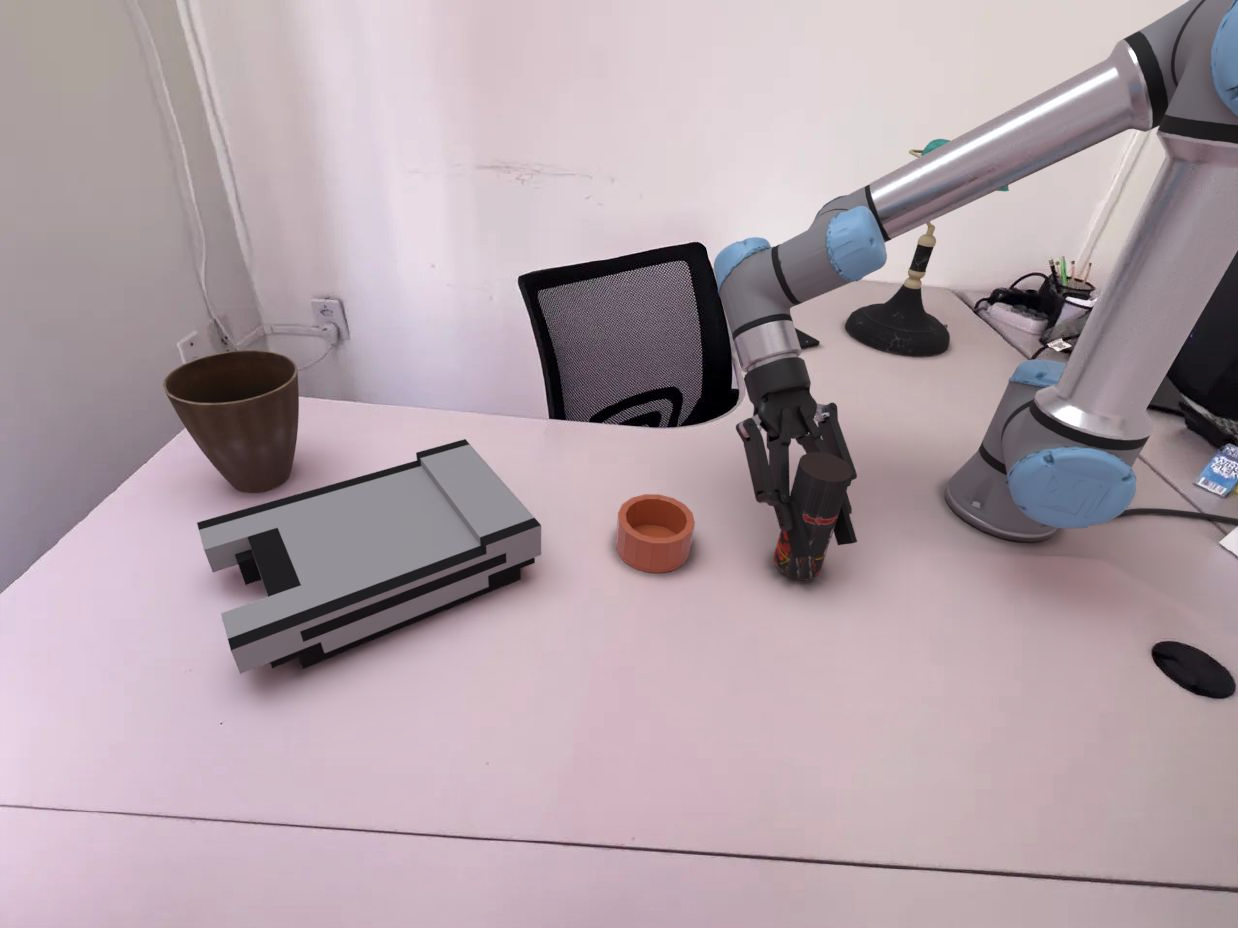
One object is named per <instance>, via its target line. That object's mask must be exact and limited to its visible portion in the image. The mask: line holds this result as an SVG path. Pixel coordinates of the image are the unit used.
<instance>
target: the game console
mask: <svg viewBox="0 0 1238 928" xmlns="http://www.w3.org/2000/svg"><path fill="white" fill-rule="evenodd" d="M415 455H416V460H413V461H410V462H406V463H403V464H398V465H396V466H393V467H389V468H385V469H382V470H378V471H375V472H371V473H367V474H364V475H361V476H356V477H353V478H350V479H346V480H342V481H339V482H336V483H332V484H328V485H325V486H321V487H318V488H314V489H310V490H308V491H304V492H301V493H297V494H293V495H289V496H286V497H283V498H279V499H276V500H271V501H268V502H265V503H260V504H258V505H254V506H251V507H247V508H243V509H240V510H236V511H233V512H230V513H225V514H222V515H218V516H214V517H211V518H208V519H204V520H201V521H197V522H196V525H197V530H198V533H199V536H200V537H199V538H200V540H201V544H202V548H203V551H204V553H205V556H206V559H207V561H208V564H209V566H210V568H211V572H212V573H217V572H219V571H223V570H225V569H229V568H232V567H235V566H238V568H239V571H240V574H241V577H242V579H243V583H244V585H245V586H248V585H251V584H254V583H257V582H260V581H262V584H263V587H264V590H265V593H266V596H267V597H264V598H261V599H258V600H255V601H251V602H249V603H246V604H243V605H240V606H237V607H235V608H232V609H229V610H227V611H223V612H220V615H221V619H222V623H223V626H224V631H225V635H226V637H227V642H228V644H229V649H230V652H231V654H232V657H233V659H234V662H235V664H236V667H237V669H238V672H239V674H240V675H241V674H244V673H246V672H249V671H251V670H254V669H256V668H259V667H261V666H264V665H266V664H269V665H270V667H271V669H274V668H277V667H279V666H282V665H284V664H287V663H289V662H292V661H294V660H296V659H298V661H299V663H300V666H301V669H302V670H304V669H307V668H309V667H311V666H314V665H316V664H319V663H321V662H324V661H326V660H328V659H331V658H334V657H336V656H338V655H340V654H343V653H345V652H348V651H350V650H353V649H355V648H357V647H360V646H362V645H365V644H367V643H370V642H372V641H375V640H377V639H379V638H383V637H384V636H387V635H389V634H392V633H394V632H397V631H399V630H401V629H404V628H407V627H409V626H411V625H415V624H416V623H418V622H421V621H424V620H426V619H428V618H430V617H433V616H435V615H438V614H440V613H443V612H446V611H447V610H450V609H453V608H455V607H457V606H458V607H459V606H460V605H463V604H465V603H467V602H469V601H472V600H475V599H477V598H479V597H481V596H482V597H483V596H485V595H487V594H489V593H491V592H494V591H497V590H499V589H501V588H504V587H506V586H508V585H509V586H510V585H512V584H513V583H516V582H518V581H521V580H522V573H521V572H522V571H521V570H522V569H524V568H526V567H529V566H530V565H533V564H535V562H536V561H535V560H536V559H535V558H536V557H539V556H542V524H541V523H540V522H539V521H538V520H537V518H536V517H535V516H534V514H532V513H531V512H530V510H529V509H528V508H527V507H526V506H525V505H524V504H523V502H522V501H521V500H520V499H519V498H518V497H517V496H516V495H515V493H513V491H512V490H511V489H510V488H509V487H508V486H507V484H505V482H504V481H503V480H502V479H501V478H500V476H498V474H497V473H496V472H495V471H494V469H492V467H491V466H490V465H489V464H488V463H487V462H486V460H485V459H484V458H483V457H482V456H481V455H480V454H479V452H477V451H476V449H475V448H474V447H473V446H472V445H471V444H470V442H469V441H468V440H467V439H466V438H464V439H460V440H457V441H453V442H449V443H446V444H443V445H442V444H441V445H438V446H435V447H432V448H428V449H424V450H421V451H417V452H415Z"/></svg>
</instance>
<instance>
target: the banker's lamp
mask: <svg viewBox="0 0 1238 928" xmlns="http://www.w3.org/2000/svg"><path fill="white" fill-rule="evenodd" d="M950 141H951V140H950V139H945V138H936V139H933V140H930V141H929V142H928V144H927V145H926V146H925V147H924V149H910V150H908V154H909V155H912V156H913V157H915V158H919V157H921V156H923V155H925V154H927V153H929V152H931V151H932V150H934V149H936V148H938V147H940V146H942V145H944V144H946V143H948V142H950ZM1009 191H1010V188H1009V185H1007V186H1005V187H1003V188H1001V189H999V190H996V191H995V192H1009ZM925 224H926V226H927V229H926V232H925V234H922V235H920V236H919V237H918V239H917V243H916V244H917V245H916V248H915V251H914V253H913V257H912V260H911V263H910V266H909V267H908V270H907V275H908V277H907V278H906V279H905V280H904V282H903V284H902V285H901V286H900V288H898V289H897V291H896V292H895V293H894V295H893V296H891V297H890V299H888V300H887V301H885V302H884V303H883V302H881V303H871V304H868V305H865V306H861V307H859V308H857V309H856V310H854V311H852V312H851V313H850V315H849V316H848V318H847V319H846V322H845V323H844V325H845V326H844V328H845V331H846V332H847V333H848V334H849V336H850V337H851V338H853V339H854V340H856V341H858V342H859V343H861V344H863V345H864V346H868V347H870V348H871V349H876V350H877V351H878V350H879V351H881V352H885V353H888V354H893V355H898V356H904V357H913V358H914V357H915V358H918V357H919V358H925V357H934V356H939V355H941V354H943V353H945V352H946V351H947V350H948V348H949V346H950V341H951V340H950V339H951V335H950V332H949V331H948V327H949V326H948V324H944V323H942V322H941V321H940V320H939V319H938V318H937V317H935V316H934V315H932V314H930V313H928V312H926V310H925V306H924V303H923V296H922V283H923V281H922V280H921V279H923V278H924V277H925V276H926V273H927V267H928V265H929V262H930V259H931V256H932V253H933V252H934V251H933V250H934V247H935V246H936V244H937V239H936V236H934V232H935V230H936V226H935V225H934V224H932V223H931V221H930V222H927V223H925Z"/></svg>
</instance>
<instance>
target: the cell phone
mask: <svg viewBox="0 0 1238 928" xmlns="http://www.w3.org/2000/svg"><path fill="white" fill-rule="evenodd" d="M795 330H796V334H797V337H798V340H799V343H800V347H801V350H805V349H809V348H814V347H818V346H819V345H820V340H819V339H817V338H815V337H813V336H811V335H809V334H807V333H806V332H803V331H802V330H800V329H798V328H797V327H795Z"/></svg>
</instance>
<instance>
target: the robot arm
mask: <svg viewBox="0 0 1238 928" xmlns="http://www.w3.org/2000/svg"><path fill="white" fill-rule="evenodd" d="M1156 128H1157V130H1156V133H1155V134H1156V137H1157V138H1158V140H1159V142H1160V145H1161V146H1162V149H1163V150H1164V156H1165V157H1164V158H1163V160H1162V163H1161V165H1160V167H1159V170H1158V172H1157V174H1156V175H1155V178H1154V179H1153V182H1152V184H1151V185H1150V188H1149V190H1148V193H1147V194H1146V196H1145V199H1144V201H1143V203H1142V205H1141V207H1140V209H1139V211H1138V213H1137V215H1136V218H1135V219H1134V221H1133V224H1132V226H1131V228H1130V230H1129V232H1128V233H1127V236H1126V238H1125V240H1124V243H1123V245H1122V247H1121V249H1120V250H1119V253H1118V255H1117V257H1116V259H1115V261H1114V263H1113V265H1112V268H1111V270H1110V272H1109V274H1108V276H1107V278H1106V280H1105V282H1104V284H1103V286H1102V288H1101V290H1100V293H1099V295H1098V297H1097V299H1096V301H1095V303H1094V305H1093V307H1092V309H1091V311H1090V313H1089V316H1088V318H1087V319H1086V322H1085V324H1084V326H1083V327H1082V328H1083V329H1082V330H1081V333H1080V335H1079V336H1078V339H1077V340H1076V343H1075V345H1074V347H1073V349H1072V351H1071V353H1070V355H1069V357H1068V359H1067V361H1066V362H1062V361H1056V360H1052V359H1042V358H1041V359H1039V358H1038V359H1036V358H1035V359H1027V360H1024V361H1022V362H1021V363H1019V364H1018V365H1017V366H1016V368H1015V369H1014V372H1013V373H1012V375H1011V377H1009V378H1008V380H1007V383H1008V384H1007V385H1006V387H1005V390H1004V392H1003V395H1002V396H1001V399H1000V401H999V403H998V405H997V406H996V407H997V408H996V409H995V412H994V414H993V417H992V419H991V421H990V423H989V425H988V426H987V429H986V431H985V434H984V436H983V439H982V441H981V443H980V445H979V447H978V449H977V451H976V452H975V453H974V454H973V455H972V456H971V457H970V458H969V459H968V460H967V461H966V462H965V463H964V464H963V465H962V466H961V467H960V468H958V470H957V471H956V472H955V473H954V474H953V475H952V476H951V478H950V479H949V481H948V483H947V485H946V487H945V491H944V498H945V500H946V502H947V504H948V506H949V507H950V509H951V510H952V511H953V512H954V513H955V514H956V515H957V516H958V517H959V518H961V519H962V520H963V521H965V522H966V523H968V524H969V525H971V526H972V527H974V528H976V529H979V530H980V531H982V532H984V533H986V534H989V535H992V536H995V537H997V538H1000V539H1004V540H1008V541H1013V542H1019V543H1037V542H1043V541H1046V540H1049V539H1051V537H1053V536H1054V535H1055V533H1056V531H1057V529H1067V530H1077V529H1078V530H1079V529H1086V528H1088V527H1090V526H1093V525H1094V526H1095V525H1098V526H1099V525H1103V524H1105V523H1107V522H1110V521H1112V520H1114V519H1116V518H1117V517H1121V516H1126V515H1132V514H1161V515H1162V514H1163V515H1175V516H1185V517H1194V518H1202V519H1208V520H1215V521H1219V522H1226V523H1231V524H1236V525H1237V524H1238V518H1234V517H1230V516H1223V515H1219V514H1211V513H1205V512H1197V511H1189V510H1181V509H1180V510H1179V509H1171V508H1170V509H1169V508H1149V507H1146V508H1145V507H1144V508H1142V507H1141V508H1140V507H1139V508H1138V507H1137V508H1129V507H1130V506H1131V504H1132V502H1133V500H1134V498H1135V496H1136V493H1137V492H1136V491H1137V482H1138V481H1137V480H1138V479H1137V475H1136V473H1135V471H1134V469H1133V466H1134V464H1135V462H1136V460H1137V459H1138V457H1139V455H1140V454H1141V452H1142V451H1143V449H1144V447H1145V446H1146V444H1147V442H1148V440H1149V438H1150V437H1151V436H1152V433H1153V432H1154V429H1155V425H1154V422H1153V420H1152V419H1151V417H1150V415H1149V413H1148V411H1147V408H1148V406H1149V405H1150V403H1151V401H1152V399H1153V398H1154V396H1155V394H1156V393H1157V391H1158V389H1159V388H1160V385H1161V384H1162V383H1163V380H1164V379H1165V377H1166V376H1167V374H1168V371H1169V370H1170V368H1171V367H1172V365H1173V363H1174V361H1175V360H1176V359H1177V356H1178V354H1179V353H1180V351H1181V349H1182V348H1183V346H1184V344H1185V342H1186V341H1187V339H1188V338H1189V336H1190V333H1191V332H1192V331H1193V329H1194V327H1195V325H1196V323H1197V321H1198V320H1199V318H1200V317H1201V315H1202V313H1203V311H1204V309H1205V308H1206V306H1207V304H1208V303H1209V301H1210V299H1211V297H1212V296H1213V294H1214V292H1215V291H1216V289H1217V287H1218V285H1219V284H1220V282H1221V280H1222V278H1223V277H1224V275H1225V273H1226V271H1228V268H1229V267H1230V264H1231V263H1232V261H1233V259H1234V257H1235V256H1236V254H1237V252H1238V0H1188V1H1186V2H1184V3H1183V4H1181V5H1180V6H1178V7H1176V8H1175V9H1173V10H1171V11H1169V12H1168V13H1166V14H1165V15H1163V16H1161V17H1160V18H1158V19H1156V20H1155V21H1153V22H1151V23H1150V24H1148V25H1146V26H1145V27H1143V28H1141V29H1139V30H1138V31H1136V32H1133V33H1132V34H1130V35H1128V36H1126V37H1124V38H1122V39H1120V40H1119V41H1117V42H1116V44H1115V45H1114V47H1113V49H1112V50H1111V52H1110V54H1109V56H1107V58H1106V59H1105V60H1102V61H1101V62H1099V63H1096V64H1095V65H1093V66H1091V67H1089V68H1087V69H1085V70H1083V71H1082V72H1080V73H1078V74H1076V75H1073V76H1072V77H1070V78H1068V79H1066V80H1064V81H1062V82H1061V83H1058V84H1057V85H1055V86H1053V87H1051V88H1049V89H1047V90H1045V91H1043V92H1041V93H1039V94H1038V95H1036V96H1034V97H1032V98H1029V99H1028V100H1026V101H1024V102H1022V103H1021V104H1020V103H1019V105H1017V106H1015V107H1013V108H1011V109H1009V110H1006V111H1005V112H1003V113H1001V114H999V115H997V116H996V117H994V118H992V119H990V120H988V121H986V122H983V123H982V124H980V125H978V126H976V127H975V128H973V129H971V130H968V131H967V132H965V133H963V134H961V135H959V136H957V137H955V138H953V139H951V140H950V142H948V143H946V144H944V145H942V146H940V147H938V148H936V149H934V150H932V151H931V152H929V153H927V154H925V155H923V156H921V157H919V158H918V157H916V158H915V159H914V160H912V161H910V162H907V163H905V164H903V165H902V166H900V167H898V168H896V169H894V170H892V171H891V172H888V173H887V174H885V175H883V176H881V177H879V178H877V179H875V180H873V181H871V182H870V183H869V184H867V185H864V186H863V187H860V188H858V189H856V190H855V191H853V192H851V193H849V194H843V195H839V196H836V197H834V198H832V199H831V200H829V201H828V202H826V203H825V204H823V205H822V207H821V208H820V209H819V210H818V211H817V213H816V215H815V216H814V219H813V221H812V223H811V225H810V226H809V227H808V228H807V230H805V231H803V232H801V233H799V234H797V235H795V236H793V237H792V238H790V239H788V240H786V241H784V242H782V243H779V244H777V245H774V246H771V243H770V242H769V241H768V239H766V238H764V237H759V236H753V237H746V238H745V239H743V240H740V241H735V242H732V243H731V244H729V245H727V246H726V247H724V248H723V249H722V250H720V252H718V253H717V255H716V257H715V259H714V261H713V270H714V275H715V280H716V285H717V293H718V297H719V298H720V301H721V304H722V307H723V311H724V313H725V318H726V320H727V323H728V327H729V330H730V334H731V338H732V341H733V345H734V349H735V352H736V356H737V359H738V362H739V363H738V364H739V366H740V369H741V371H742V372H744V373H745V375H744V377H743V381H744V385H745V389H746V392H747V396H748V399H749V402H750V403H751V404H752V405H753V413H752V416H751V417H748V418H746V419H744V420H742V421H740V422H738V423H737V424H735V430H736V433H737V434H738V436H739V438H740V439H741V442H742V444H743V448H744V452H745V456H746V461H747V466H748V470H749V475H750V480H751V484H752V488H753V493H754V497H755V501H756V502H757V503H759V504H767V506H769V507H773V509H774V513H775V516H776V520H777V523H778V528H779V529H780V531H782V532H783V531H786V533H787V537H788V540H789V544H790V548H791V551H792V555H793V558H801V557H808V556H812V552H811V548H810V545H809V541H808V538H807V534H806V531H805V527H804V524H803V520H802V517H801V513H800V510H799V506H798V503H797V500H796V501H792V502H789V500H790V494H791V488H790V486H791V485H790V446H791V443H792V440H795V441H796V443H797V444H798V445H799V446H801V447H802V448H803V450H804V451H805V454H807V453H811V452H821V453H827V454H831V455H834V456H837V457H839V458H841V459H843V460H844V461H845V462H847V463H848V464H849V466H850V467H851V469H852V475H851V479H850V482H849V485H848V488H849V487H851V485H852V481H855V480H857V478H858V473H857V470H856V468H855V465H854V462H853V459H852V457H851V453H850V450H849V447H848V444H847V442H846V439H845V436H844V434H843V431H842V427H841V425H840V423H839V414H838V405H837V404H836V403H835V402H829V403H827V404H822V403H817V401H816V399H815V398H814V397H813V396H812V394H811V385H812V384H811V383H812V382H811V378H810V375H809V372H808V367H807V364H806V362H805V359H803V358H802V357H800V356H801V355H802V352H803V351H802V350H803V349H801V347H800V343H799V340H798V337H797V334H796V330H795V328H796V327H795V324H794V320H793V318H792V317H793V316H792V315H791V309H792V308H793V307H796V306H798V305H801V304H804V303H805V302H807V301H810V300H812V299H814V298H818V297H819V296H822V295H824V294H827V293H829V292H832V291H834V290H836V289H839V288H842V287H844V286H846V285H849V284H851V283H855V282H859V281H861V280H862V279H864V278H865V277H866V276H869V275H871V274H872V273H874V272H877V271H878V270H880V269H882V268H883V267H885V265H886V263H887V260H888V253H887V247H886V243H887V242H890V241H892V240H893V239H895V238H897V237H899V236H901V235H904V234H906V233H908V232H910V231H912V230H914V229H917V228H919V227H921V226H924V225H925V224H926V223H927V222H930V223H931V222H932V221H934V220H936V219H938V218H940V217H942V216H945V215H947V214H949V213H951V212H953V211H955V210H958V209H960V208H962V207H964V206H967V205H968V204H970V203H973V202H975V201H977V200H979V199H981V198H984V197H986V196H988V195H990V194H992V193H995V192H997V191H996V190H999V189H1001V188H1003V187H1005V186H1007V185H1008V186H1009V185H1011V184H1013V183H1016V182H1018V181H1020V180H1022V179H1024V178H1027V177H1029V176H1031V175H1033V174H1035V173H1037V172H1040V171H1042V170H1044V169H1046V168H1048V167H1050V166H1052V165H1055V164H1057V163H1059V162H1061V161H1063V160H1065V159H1067V158H1070V157H1072V156H1073V155H1076V154H1078V153H1081V152H1082V151H1085V150H1087V149H1089V148H1091V147H1094V146H1096V145H1097V144H1100V143H1102V142H1104V141H1106V140H1108V139H1111V138H1112V137H1115V136H1117V135H1120V134H1121V133H1124V132H1125V131H1127V130H1128V131H1129V130H1136V131H1138V132H1139V131H1140V132H1144V133H1147V132H1149V131H1151V130H1153V129H1156ZM762 430H763V431H764V432H765V433H766V437H765V438H766V446H765V440H764V437H763V434H762V433H761V431H762ZM766 449H767V450H768V455H767V450H766ZM1128 508H1129V509H1128ZM852 514H853V508H852V504H851V502H850V499H849V494H848V491H846V494H845V497H844V500H843V503H842V506H841V509H840V512H839V515H838V518H837V522H836V525H835V528H834V531H833V534H834V538H835V542H836V544H837V546H844V545H845V546H846V545H853V544H857V543H858V539H857V536H856V532H855V530H854V525H853V523H852V518H851V515H852Z"/></svg>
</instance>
